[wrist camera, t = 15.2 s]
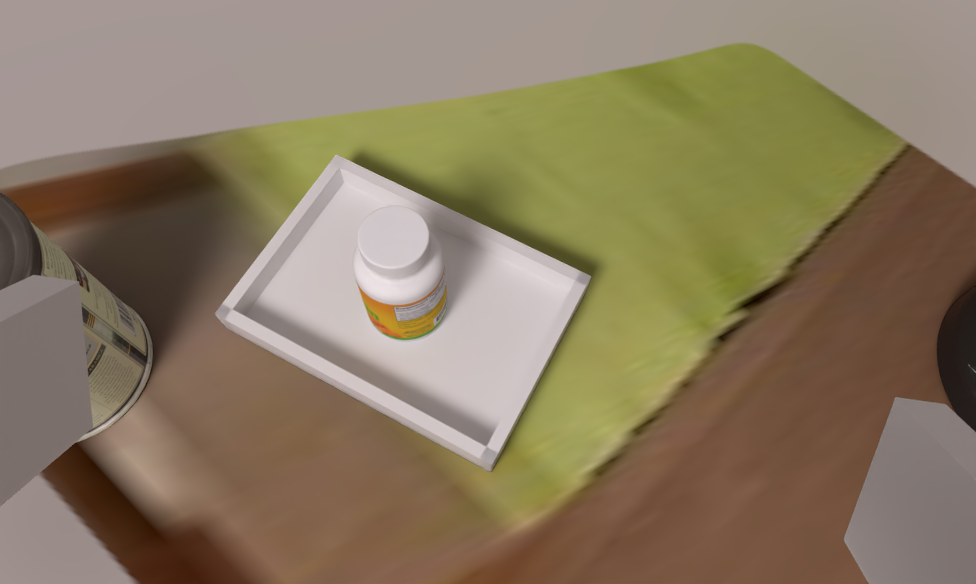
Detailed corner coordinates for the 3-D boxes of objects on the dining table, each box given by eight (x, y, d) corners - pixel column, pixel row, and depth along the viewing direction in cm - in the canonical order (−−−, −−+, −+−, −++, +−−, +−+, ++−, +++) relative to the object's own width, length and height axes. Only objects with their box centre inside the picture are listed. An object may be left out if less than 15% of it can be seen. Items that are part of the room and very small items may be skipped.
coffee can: (-47, 396, 44) (-257, 309, 32) (70, 271, 48) (-75, 148, 35) (76, 479, 42) (-95, 422, 30) (187, 341, 46) (79, 238, 33)
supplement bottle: (357, 286, 48) (331, 211, 39) (431, 260, 48) (422, 181, 40) (382, 355, 45) (360, 293, 37) (459, 327, 46) (456, 260, 38)
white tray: (585, 292, 48) (591, 276, 46) (490, 472, 43) (491, 465, 41) (342, 174, 52) (336, 154, 50) (226, 328, 47) (214, 314, 44)
